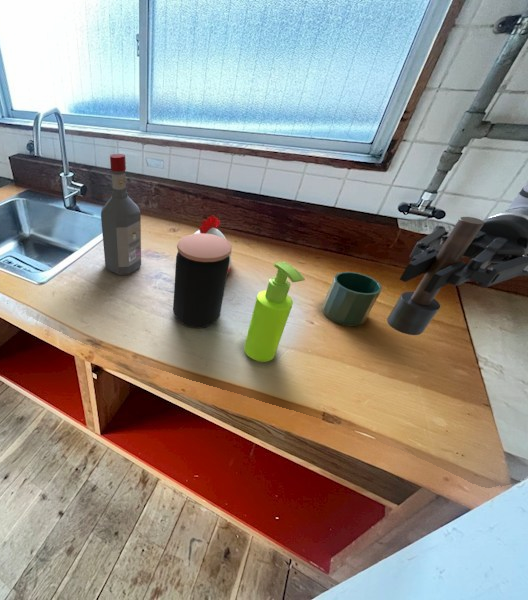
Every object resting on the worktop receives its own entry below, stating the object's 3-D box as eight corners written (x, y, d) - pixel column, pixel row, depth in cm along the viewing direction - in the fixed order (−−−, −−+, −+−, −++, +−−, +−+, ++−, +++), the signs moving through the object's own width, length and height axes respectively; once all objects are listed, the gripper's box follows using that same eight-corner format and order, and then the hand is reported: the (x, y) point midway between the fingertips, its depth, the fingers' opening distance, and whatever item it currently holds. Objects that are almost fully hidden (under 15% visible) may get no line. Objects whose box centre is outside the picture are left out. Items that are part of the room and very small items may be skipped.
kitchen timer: (170, 266, 92) (172, 216, 83) (200, 250, 99) (205, 202, 90) (210, 286, 83) (218, 233, 74) (239, 266, 90) (250, 215, 81)
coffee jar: (228, 312, 74) (242, 242, 64) (203, 337, 68) (213, 264, 57) (189, 295, 80) (196, 228, 69) (163, 316, 74) (166, 246, 63)
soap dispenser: (256, 368, 61) (284, 281, 49) (238, 343, 66) (259, 259, 54) (284, 362, 62) (317, 275, 50) (264, 338, 67) (289, 254, 55)
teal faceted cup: (373, 318, 71) (391, 286, 66) (348, 331, 68) (364, 299, 63) (337, 298, 77) (351, 268, 72) (313, 309, 74) (325, 278, 69)
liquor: (145, 264, 93) (145, 154, 75) (124, 278, 88) (118, 162, 70) (122, 255, 98) (116, 149, 80) (101, 267, 93) (89, 157, 75)
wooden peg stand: (429, 328, 51) (505, 222, 40) (412, 339, 49) (486, 231, 39) (397, 312, 55) (459, 210, 44) (380, 321, 53) (440, 217, 42)
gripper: (553, 280, 48) (472, 332, 40) (435, 240, 59) (353, 274, 51) (595, 234, 44) (513, 282, 36) (459, 200, 55) (373, 231, 47)
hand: (419, 277), depth 43 cm, fingers closed on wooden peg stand, 2 cm apart
